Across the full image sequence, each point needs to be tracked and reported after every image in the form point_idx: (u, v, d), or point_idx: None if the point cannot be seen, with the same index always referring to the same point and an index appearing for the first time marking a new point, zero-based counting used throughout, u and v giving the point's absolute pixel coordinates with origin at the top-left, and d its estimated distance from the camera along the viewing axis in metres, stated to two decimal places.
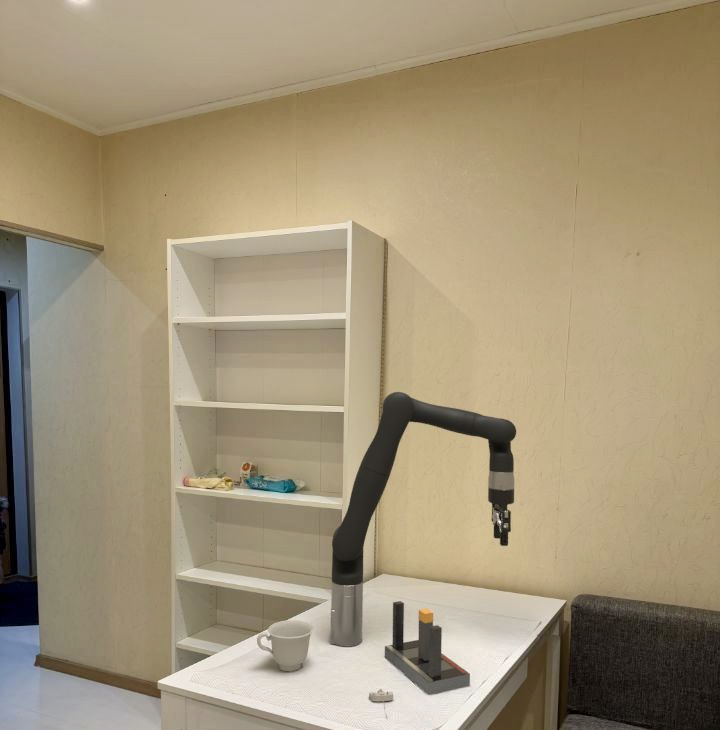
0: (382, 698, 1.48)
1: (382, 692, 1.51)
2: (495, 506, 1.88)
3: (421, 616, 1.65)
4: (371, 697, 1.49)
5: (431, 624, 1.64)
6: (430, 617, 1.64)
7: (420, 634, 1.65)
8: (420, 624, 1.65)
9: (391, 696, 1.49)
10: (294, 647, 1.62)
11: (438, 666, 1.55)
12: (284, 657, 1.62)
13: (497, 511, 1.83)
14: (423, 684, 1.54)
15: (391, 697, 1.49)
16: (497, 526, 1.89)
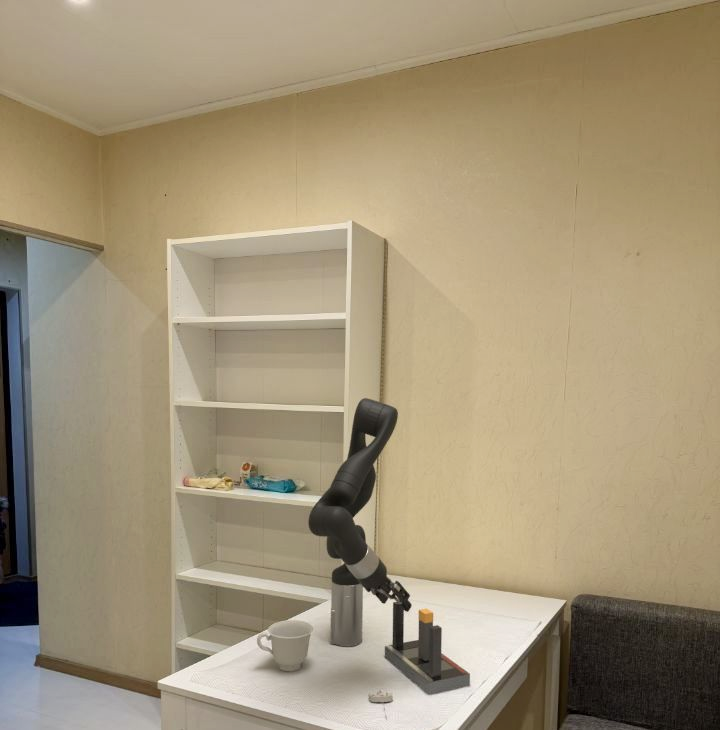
0: (381, 699, 1.48)
1: (382, 693, 1.50)
2: None
3: (421, 616, 1.65)
4: (370, 698, 1.48)
5: (431, 624, 1.64)
6: (430, 617, 1.64)
7: (420, 634, 1.65)
8: (420, 624, 1.65)
9: (391, 697, 1.48)
10: (294, 647, 1.62)
11: (438, 666, 1.55)
12: (284, 657, 1.62)
13: None
14: (423, 684, 1.54)
15: (391, 698, 1.48)
16: None
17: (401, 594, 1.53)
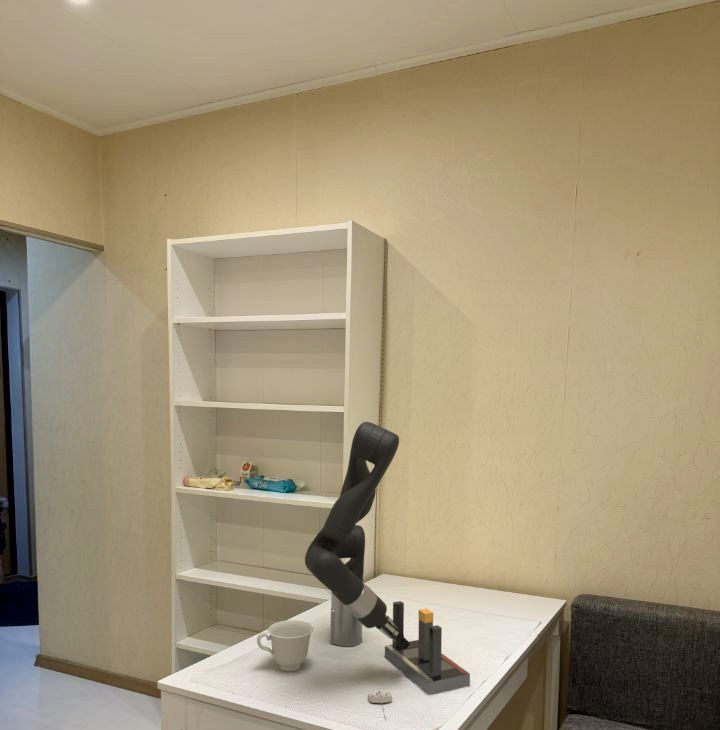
0: (380, 700, 1.47)
1: (381, 694, 1.50)
2: (387, 619, 1.57)
3: (421, 616, 1.65)
4: (370, 699, 1.48)
5: (431, 624, 1.64)
6: (430, 617, 1.64)
7: (420, 634, 1.65)
8: (420, 624, 1.65)
9: (390, 698, 1.48)
10: (294, 647, 1.62)
11: (438, 666, 1.55)
12: (284, 657, 1.62)
13: None
14: (423, 684, 1.54)
15: (390, 699, 1.48)
16: None
17: (398, 638, 1.57)
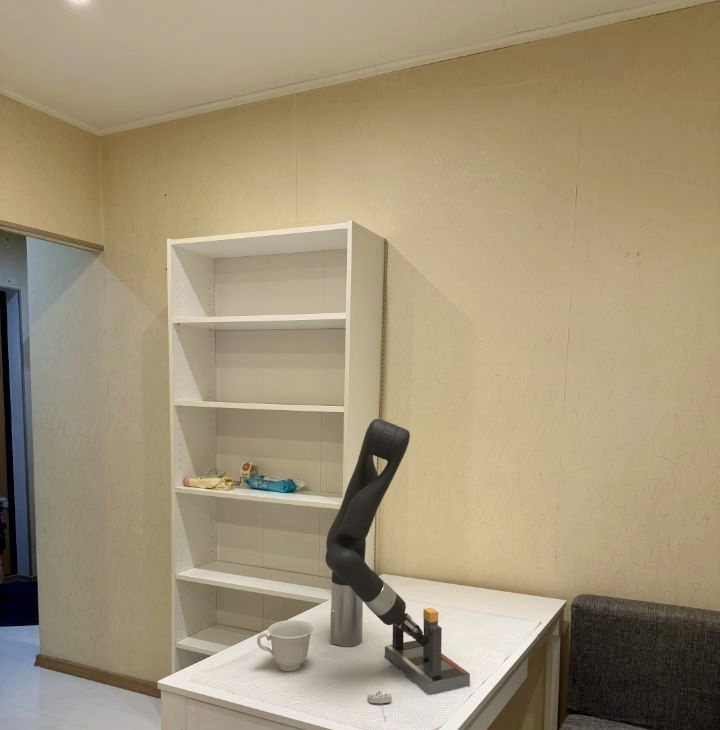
0: (380, 700, 1.47)
1: (380, 694, 1.50)
2: (406, 616, 1.60)
3: (426, 615, 1.66)
4: (369, 699, 1.48)
5: (436, 623, 1.65)
6: (435, 617, 1.65)
7: (425, 633, 1.66)
8: (425, 623, 1.66)
9: (389, 698, 1.48)
10: (294, 647, 1.62)
11: (438, 666, 1.55)
12: (284, 657, 1.62)
13: None
14: (423, 684, 1.54)
15: (389, 699, 1.48)
16: None
17: (417, 635, 1.59)
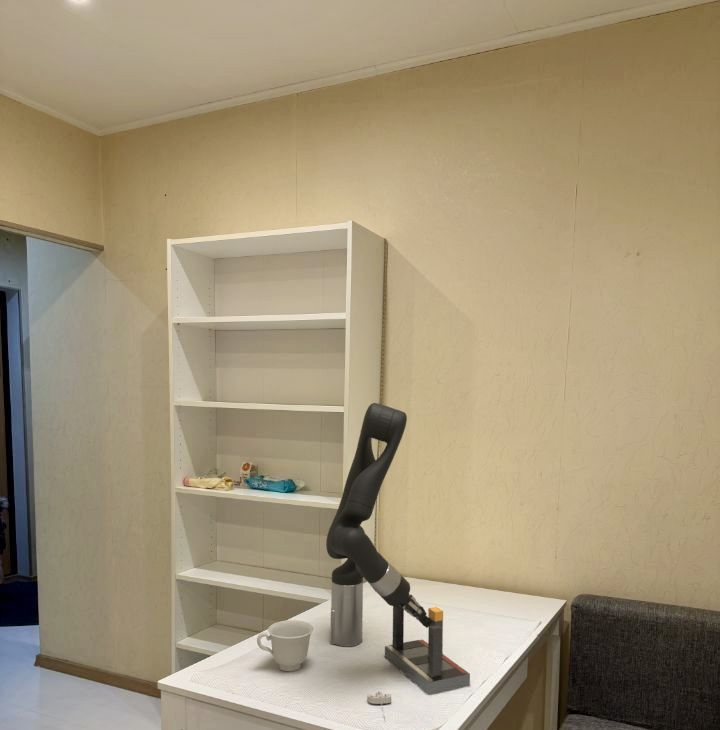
0: (380, 701, 1.47)
1: (380, 695, 1.49)
2: None
3: (431, 614, 1.66)
4: (369, 700, 1.47)
5: (441, 622, 1.65)
6: (440, 616, 1.65)
7: None
8: None
9: (389, 699, 1.48)
10: (294, 647, 1.62)
11: (438, 666, 1.55)
12: (284, 657, 1.62)
13: None
14: (423, 684, 1.54)
15: (389, 700, 1.47)
16: None
17: (421, 616, 1.60)
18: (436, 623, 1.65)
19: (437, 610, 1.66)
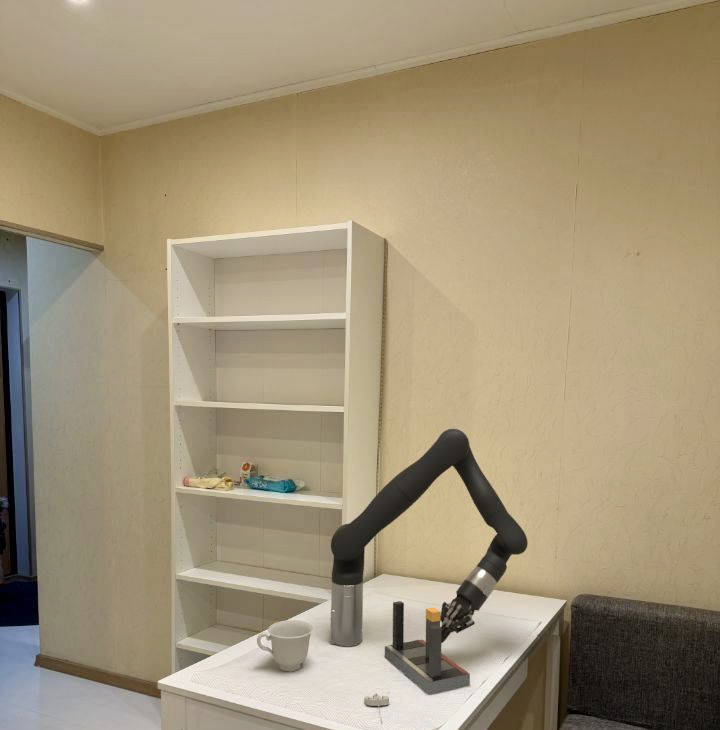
0: (377, 703, 1.46)
1: (377, 696, 1.48)
2: (455, 600, 1.73)
3: (428, 615, 1.66)
4: (366, 701, 1.47)
5: (438, 623, 1.65)
6: (438, 616, 1.65)
7: (427, 633, 1.66)
8: (427, 623, 1.66)
9: (386, 700, 1.47)
10: (294, 647, 1.62)
11: (438, 666, 1.55)
12: (284, 657, 1.62)
13: (462, 607, 1.68)
14: (423, 684, 1.54)
15: (386, 701, 1.47)
16: None
17: None
18: (433, 623, 1.64)
19: (434, 610, 1.66)
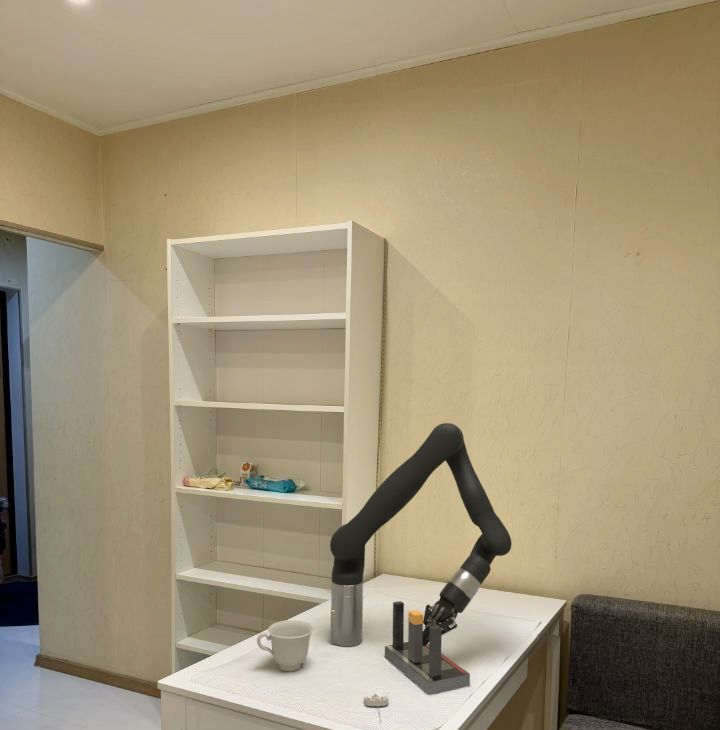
0: (376, 703, 1.46)
1: (377, 697, 1.48)
2: (438, 602, 1.70)
3: (411, 618, 1.64)
4: (366, 702, 1.46)
5: (421, 626, 1.63)
6: (420, 619, 1.63)
7: (410, 636, 1.64)
8: (410, 626, 1.64)
9: (386, 701, 1.46)
10: (294, 647, 1.62)
11: (438, 666, 1.55)
12: (284, 657, 1.62)
13: (445, 610, 1.66)
14: (423, 684, 1.54)
15: (386, 702, 1.46)
16: (428, 631, 1.66)
17: None
18: (416, 627, 1.62)
19: (417, 613, 1.63)
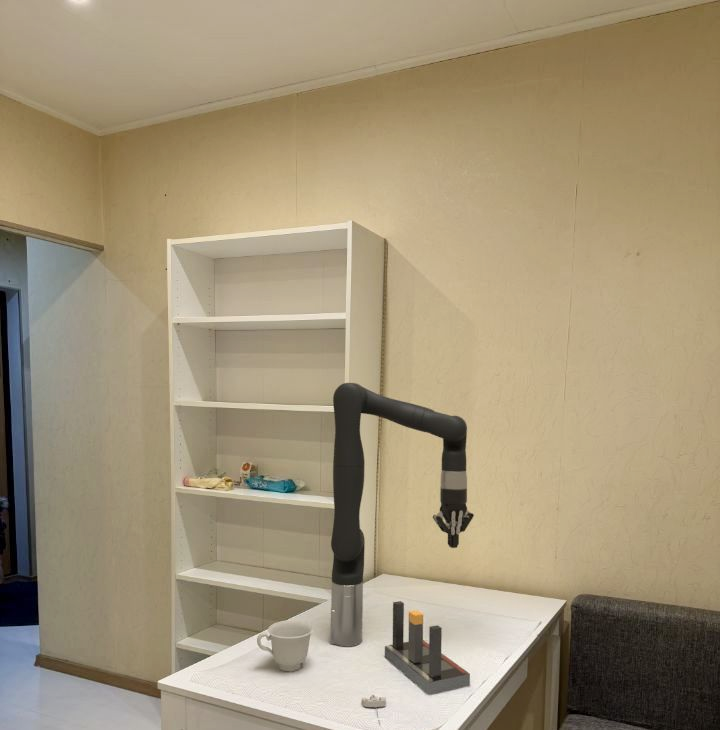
0: (374, 704, 1.45)
1: (375, 698, 1.48)
2: None
3: (411, 618, 1.64)
4: (363, 703, 1.46)
5: (421, 626, 1.63)
6: (420, 619, 1.63)
7: (410, 636, 1.64)
8: (410, 626, 1.64)
9: (384, 702, 1.46)
10: (294, 647, 1.62)
11: (438, 666, 1.55)
12: (284, 657, 1.62)
13: None
14: (423, 684, 1.54)
15: (384, 703, 1.46)
16: None
17: None
18: (416, 626, 1.62)
19: (417, 613, 1.63)
